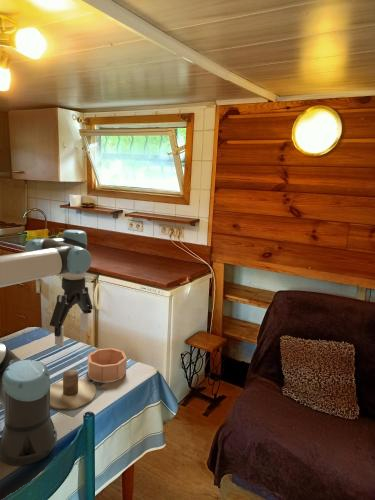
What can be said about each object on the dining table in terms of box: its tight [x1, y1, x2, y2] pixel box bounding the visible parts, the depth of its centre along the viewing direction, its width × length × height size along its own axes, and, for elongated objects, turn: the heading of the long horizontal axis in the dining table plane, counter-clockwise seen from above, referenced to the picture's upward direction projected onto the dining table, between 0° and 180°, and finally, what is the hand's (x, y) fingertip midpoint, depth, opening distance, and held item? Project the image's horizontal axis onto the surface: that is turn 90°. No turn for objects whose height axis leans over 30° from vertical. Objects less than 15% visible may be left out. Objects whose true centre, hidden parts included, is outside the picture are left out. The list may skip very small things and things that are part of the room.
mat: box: [50, 378, 108, 418], centre depth 128 cm, size 18×18×1 cm
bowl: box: [86, 347, 128, 384], centre depth 143 cm, size 14×14×7 cm
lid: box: [50, 369, 96, 410], centre depth 127 cm, size 17×17×8 cm
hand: (72, 337), depth 126 cm, fingers open, 13 cm apart
